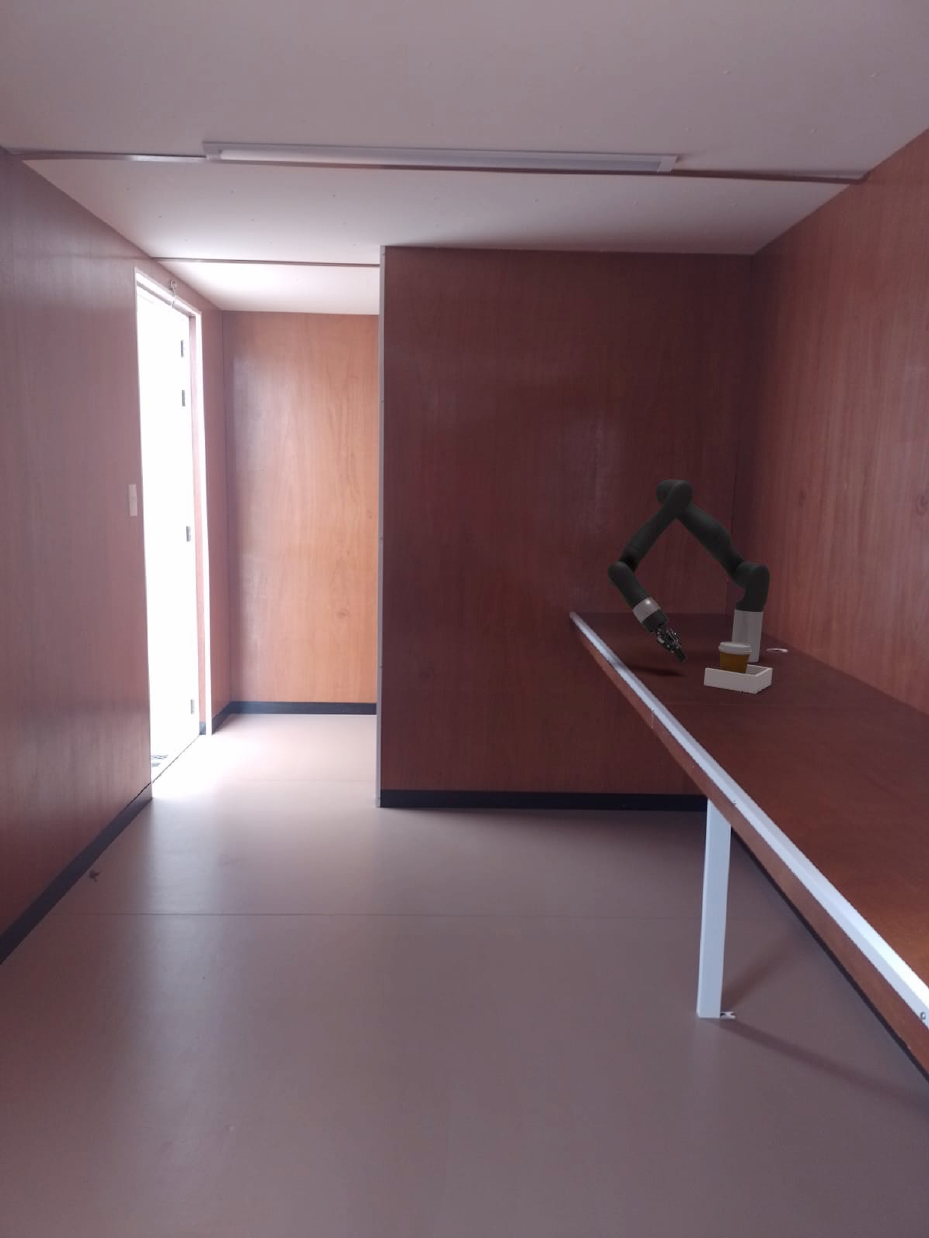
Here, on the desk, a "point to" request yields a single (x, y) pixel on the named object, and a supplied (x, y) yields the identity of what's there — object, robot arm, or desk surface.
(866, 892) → the desk surface
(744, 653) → the disposable coffee cup
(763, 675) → the grey bay
